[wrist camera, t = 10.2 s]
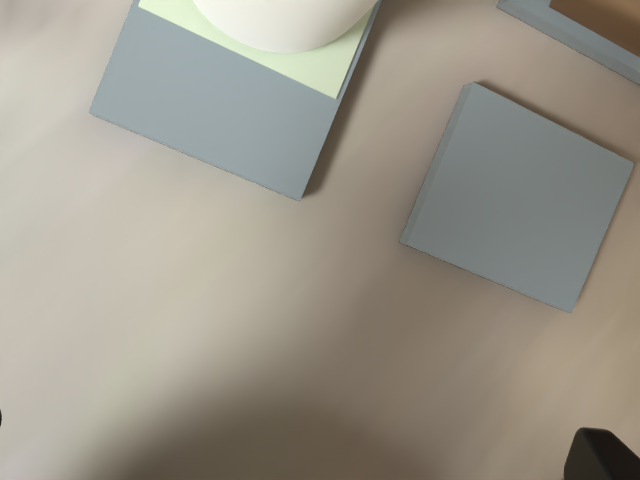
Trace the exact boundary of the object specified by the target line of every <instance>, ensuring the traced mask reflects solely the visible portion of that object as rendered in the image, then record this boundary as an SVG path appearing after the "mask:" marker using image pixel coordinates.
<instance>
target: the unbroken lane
mask: <svg viewBox="0 0 640 480" xmlns="http://www.w3.org/2000/svg"><path fill="white" fill-rule="evenodd" d="M381 3H382V0H378V1H377V2H376V3H375V4H374V5H373V7H372V8H371V9H370V10H369V11H368V12H367V13H366V14H365V15H364V16H363V17H362V18H360V19H359V20H358V21H357V22H356V23H355V24H354V25H353V26H352V27H351V28H350V29H349V30H348V31H346V32H345V33H344V34H342V35H341V36H339V37H338V38H336V39H335V40H333V41H331V42H329V43H327V44H325V45H323V46H321V47H318V48H315V49H312V50H308V51H303V52H296V53H275V52H268V51H263V50H259V49H256V48H252V47H250V46H247V45H245V44H242V43H240V42H238V41H236V40H234V39H233V38H231V37H229V36H228V35H226V34H225V33H223V32H222V31H221V30H219V29H218V28H217V27H216V26H214V25H213V24H212V23H211V22H210V21H209V20H208V19H207V18H206V17H205V16H204V15H203V14H202V12H201V11H200V10H199V9H198V7H197V6H196V5H195V3H194V2H193V0H133V2H132V5H131V7H130V10H129V12H128V15H127V17H126V20H125V22H124V25H123V27H122V30H121V32H120V35H119V37H118V40H117V42H116V45H115V47H114V50H113V52H112V55H111V57H110V60H109V62H108V65H107V67H106V70H105V72H104V75H103V77H102V80H101V82H100V85H99V87H98V90H97V92H96V95H95V97H94V100H93V102H92V105H91V107H90V110H89V113H90V114H92V115H94V116H96V117H99V118H101V119H104V120H106V121H108V122H111V123H113V124H116V125H118V126H120V127H123V128H125V129H127V130H130V131H132V132H135V133H137V134H139V135H142V136H144V137H147V138H149V139H151V140H154V141H156V142H159V143H161V144H163V145H166V146H168V147H170V148H173V149H175V150H178V151H180V152H182V153H185V154H187V155H190V156H192V157H194V158H197V159H199V160H201V161H204V162H206V163H209V164H211V165H213V166H216V167H218V168H221V169H223V170H225V171H228V172H230V173H232V174H235V175H237V176H240V177H242V178H244V179H247V180H249V181H252V182H254V183H256V184H259V185H261V186H263V187H266V188H268V189H271V190H273V191H275V192H278V193H280V194H283V195H285V196H287V197H290V198H292V199H294V200H297V201H300V200H301V197H302V195H303V193H304V190H305V188H306V185H307V183H308V180H309V178H310V175H311V173H312V171H313V168H314V166H315V163H316V161H317V158H318V156H319V154H320V151H321V149H322V146H323V144H324V141H325V139H326V137H327V134H328V132H329V129H330V127H331V124H332V122H333V119H334V117H335V115H336V112H337V110H338V107H339V105H340V102H341V100H342V98H343V95H344V93H345V90H346V88H347V85H348V83H349V80H350V78H351V76H352V73H353V71H354V68H355V66H356V63H357V61H358V59H359V56H360V54H361V51H362V49H363V46H364V44H365V42H366V39H367V37H368V34H369V32H370V29H371V27H372V24H373V22H374V20H375V17H376V15H377V12H378V10H379V7H380V5H381Z"/></svg>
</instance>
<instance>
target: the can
mask: <svg viewBox="0 0 640 480" xmlns="http://www.w3.org/2000/svg"><path fill="white" fill-rule="evenodd" d="M377 1H378V0H193V2H194V3H195V5H196V6H197V7H198V9H199V10H200V11H201V12H202V14H203V15H204V16H205V17H206V18H207V19H208V20H209V21H210V22H211V23H212V24H213V25H214V26H216V27H217V28H218V29H219V30H221V31H222V32H223V33H225V34H226V35H228V36H229V37H231V38H233V39H234V40H236V41H238V42H240V43H242V44H245V45H247V46H250V47H252V48H256V49H259V50H263V51H268V52H275V53H296V52H303V51H308V50H312V49H315V48H318V47H321V46H323V45H325V44H327V43H329V42H331V41H333V40H335V39H336V38H338V37H339V36H341V35H342V34H344V33H345V32H346V31H348V30H349V29H350V28H351V27H352V26H353V25H354V24H355V23H356V22H357V21H358V20H359V19H360V18H362V17H363V16H364V15H365V14H366V13H367V12H368V11H369V10H370V9H371V8H372V7H373V5H374V4H375V3H376V2H377Z"/></svg>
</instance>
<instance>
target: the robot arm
mask: <svg viewBox="0 0 640 480" xmlns="http://www.w3.org/2000/svg"><path fill="white" fill-rule="evenodd" d="M1 420H2V414H1V410H0V426H1ZM564 480H640V458H639V457H638V456H637V455H636V454H635V453H633V452H632V451H631V450H630V449H629V448H628V447H627V446H626V445H625V444H624V443H623V442H622V441H621V440H620V439H618V438H617V437H616V436H615V435H614V434H613V433H612V432H610V431H608V430H606V429H597V428H585V427H583V428H580V429H578V430H577V432H576V434H575V436H574V439H573V442H572V445H571V448H570V451H569V454H568V457H567V460H566V463H565V467H564Z"/></svg>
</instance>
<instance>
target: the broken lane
mask: <svg viewBox="0 0 640 480" xmlns="http://www.w3.org/2000/svg"><path fill="white" fill-rule="evenodd" d="M550 2H551V0H499V2H498V4H497V7H498V8H499V9H501V10H503V11H505V12H507V13H509V14H510V15H512V16H514V17H516V18H518V19H520V20H521V21H523V22H525V23H527V24H529V25H531V26H532V27H534V28H536V29H538V30H540V31H542V32H543V33H545V34H547V35H549V36H551V37H553V38H554V39H556V40H558V41H560V42H562V43H564V44H565V45H567V46H569V47H571V48H573V49H575V50H576V51H578V52H580V53H582V54H584V55H586V56H587V57H589V58H591V59H593V60H595V61H597V62H598V63H600V64H602V65H604V66H606V67H608V68H609V69H611V70H613V71H615V72H617V73H619V74H620V75H622V76H624V77H626V78H628V79H630V80H631V81H633V82H635V83H637V84H639V85H640V57H638V56H636V55H634V54H632V53H630V52H629V51H627V50H625V49H623V48H621V47H620V46H618V45H616V44H614V43H612V42H611V41H609V40H607V39H605V38H604V37H602V36H600V35H598V34H596V33H595V32H593V31H591V30H589V29H587V28H586V27H584V26H582V25H580V24H578V23H577V22H575V21H573V20H571V19H570V18H568V17H566V16H564V15H562V14H561V13H559V12H557V11H555V10H553V9H552V8H550V7H549V5H550ZM634 164H635V163H633V162H631V161H629V160H627V159H625V158H623V157H621V156H619V155H617V154H615V153H613V152H611V151H609V150H607V149H605V148H603V147H601V146H599V145H598V144H596V143H594V142H592V141H590V140H588V139H586V138H584V137H582V136H580V135H578V134H576V133H574V132H572V131H570V130H568V129H566V128H564V127H562V126H560V125H558V124H556V123H554V122H552V121H550V120H548V119H546V118H544V117H542V116H540V115H538V114H536V113H534V112H532V111H530V110H528V109H526V108H524V107H522V106H520V105H518V104H516V103H515V102H513V101H511V100H509V99H507V98H505V97H503V96H501V95H499V94H497V93H495V92H493V91H491V90H489V89H487V88H485V87H483V86H481V85H479V84H477V83H475V82H473V83H470V84H467V85H465V86H463V89H462V91H461V94H460V96H459V98H458V101H457V103H456V106H455V108H454V111H453V113H452V115H451V118H450V120H449V123H448V125H447V127H446V130H445V132H444V135H443V137H442V139H441V142H440V144H439V147H438V149H437V151H436V154H435V156H434V159H433V161H432V164H431V166H430V168H429V171H428V173H427V176H426V178H425V180H424V183H423V185H422V188H421V190H420V192H419V195H418V197H417V200H416V202H415V205H414V207H413V209H412V212H411V214H410V217H409V219H408V221H407V224H406V226H405V229H404V231H403V233H402V236H401V238H400V241H399V242H400V243H402V244H405V245H407V246H409V247H412V248H414V249H417V250H419V251H421V252H424V253H426V254H429V255H431V256H433V257H436V258H438V259H440V260H443V261H445V262H448V263H450V264H452V265H455V266H457V267H460V268H462V269H464V270H467V271H469V272H471V273H474V274H476V275H479V276H481V277H483V278H486V279H488V280H491V281H493V282H495V283H498V284H500V285H502V286H505V287H507V288H510V289H512V290H514V291H517V292H519V293H521V294H524V295H526V296H529V297H531V298H533V299H536V300H538V301H541V302H543V303H545V304H548V305H550V306H552V307H555V308H557V309H560V310H563V311H565V312H568V313H572V311H573V309H574V306H575V304H576V301H577V299H578V297H579V294H580V292H581V290H582V287H583V285H584V282H585V280H586V278H587V275H588V273H589V271H590V268H591V266H592V264H593V261H594V259H595V256H596V254H597V252H598V249H599V247H600V245H601V242H602V240H603V238H604V235H605V233H606V230H607V228H608V226H609V223H610V221H611V219H612V216H613V214H614V212H615V209H616V207H617V204H618V202H619V200H620V197H621V195H622V193H623V190H624V188H625V186H626V183H627V181H628V178H629V176H630V174H631V171H632V169H633V167H634Z"/></svg>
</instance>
